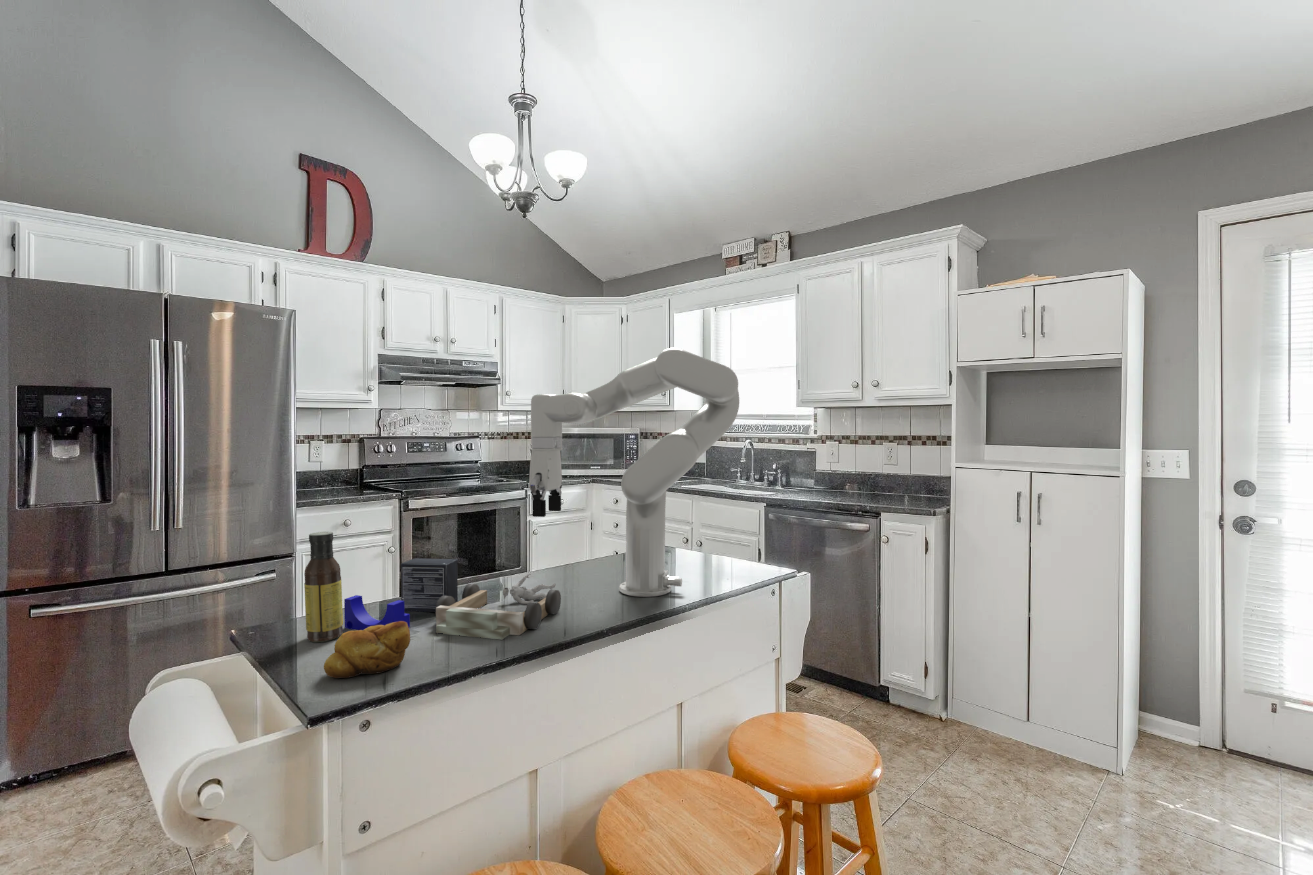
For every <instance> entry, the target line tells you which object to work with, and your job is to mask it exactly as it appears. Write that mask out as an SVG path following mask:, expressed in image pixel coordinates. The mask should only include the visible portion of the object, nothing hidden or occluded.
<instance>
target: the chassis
mask: <svg viewBox="0 0 1313 875" xmlns="http://www.w3.org/2000/svg"><path fill="white" fill-rule="evenodd" d="M462 590H463V591H462V594H461V599H460V600H459V601H458V602H456V603H455V600H454V598H453V597H452V596H441V597H440V598H439V600H438V602H437V604H436V608H435V612H434V613H435V628H436V631H435V633H436V634H438V633H443V634H442V635H450V636H459V635H460V636H461V637H470V638H472V637H473V638H480V637H481V638H482V639H483V638H484V639H493V640H504V639H505V638H507V637H508V636H510V635H512V636H521V635H522V634H524V632H526V631H527V630H536V629H538V628H539V626H540V624H541V621H542V620H543V619H544V618H545V617H547V616H548V615H557V614H558V612H559V611H560V609H561V604H562V595H561V592H560V590H558V589H548V590H549V591H548V592H547V593H546V594H547V596H546V598H544V599H543V598H541V599H540V600H539V601H538V602H535V603H533V602H532V603H529V604H526V605H527V606H526V607H525V610H524V611H523V612H521V611H511V610H510V611H509V610H499V609H487V608H482V607H484V606H486V605H488V590H486V589H485V590H484V589H480V587H479V585H478V584H476V583H467V584H466V585H465V586H464V588H463V589H462ZM485 604H486V605H485ZM481 606H482V607H481ZM477 608H479V609H477ZM481 638H480V639H481Z"/></svg>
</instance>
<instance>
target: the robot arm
mask: <svg viewBox="0 0 1313 875" xmlns="http://www.w3.org/2000/svg"><path fill="white" fill-rule="evenodd" d="M675 388H679V389H681V390H683V391H685V392H689V393H691V394H694V395H696V396H699V397H702V398H704V399H705V400H704V402H703V404H702V406H701V407H700V408H699V409H698V410H697V411H696V412H695V413H694V414H692V415H691V416H690V417H689V418H688V419H687V420H686V421H684V423H683V424H681V425H680V426H679V427H678V428H677V429H675V430H674V431H672V432H670V433H667V434H666V435H664V436H663V437H662V438H661V439H659V440H658V441H657V442H656V443H655V444H654V445H653V446H652V447H650V449H648V450H647V451H646V452H645V453H644V454H643V455H642V456H640V457H639V458H638V459H637V460H636V461H635V462H633V463H632V464H631V465H630V466H629V467H628V468H626V470H625V472H624V473H623V475H622V478H621V481H620V482H621V484H620V485H621V486H620V488H621V491H622V493H623V494H622V495H624V497H625V498H626V508H625V510H626V514H625V516H626V517H625V581H624V582H622V583H620V584H619V587H618V590H619V592H620V593H621V594H624V595H627V596H629V597H630V596H631V597H638V598H639V597H641V598H649V597H651V598H652V597H658V596H664V595H667V594H669V593H670V592H671V591H672V586H673V587H682V586H683V579H682V578H680V576H670V574H669V570H666V567H665V566H666V503H667V500H666V498H667V497H666V496H667V490H668V489H670V488H671V486H673V485H674V484H676V482H677V481H679V480H680V479H681V478H682V477H683V476H685V474H686V473H688V471H690V470H691V469H692V467H694V466H695V465H696V462H697V461H698V460H699V458H700V457H701V456H702V455H703V454H704V453H706V451H708V450H709V449H710V448H711V447H712V446H714V444H715V443H716V442H718V441H719V439H721V438H722V437H723V435H725V434H726V433H727V432H728V431H729V430H730V428H731V427H732V426H733V424H734V422H735V420H736V418H737V416H738V414H739V410H740V394H739V379H738V376H737V375H736V372H734V370H733V369H731V368H730V367H729V366H726V365H725V364H722V363H718V362H717V361H714V360H711V359H708V358H705V357H703V356H700V355H697V354H694V353H692V352H690V351H686V350H684V349H682V348H678V347H670V348H666V349H663V350H662V351H661V352H660V353H659V354H658V355H657V356H656V357H654V358H651V359H648V360H647V361H645V362H642V363H640V364H637V365H634V366H631V367H629V368H627V369H624V370H622V371H621V372H620V373H618V374H617V375H616V376H615V377H614V378H613V379H612V380H610V381H609V382H607V383H605V384H604V385H601V386H598V387H596V388H594V389H591V390H589V391H586V392H584V393H579V392H569V393H562V394H555V393H539V394H538V393H537V394H533V396H532V397H531V399H530V427H531V428H530V433H531V434H530V435H531V436H530V439H531V440H530V442H531V444H530V447H531V448H530V449H531V454H530V464H529V477H528V478H529V482H528V483H529V484H528V486H529V487H528V488H529V490H530V494H531V500H532V517H535V518H539V517H540V518H545V517H546V514H547V509H546V508H547V505H546V504H547V503H546V502H547V501H546V499H545V496H546V494H547V492H548V493H549V494H548V495H547V496H548V498H547V499H548V511H549V512H560V511H562V488H563V485H562V483H563V475H562V473H563V472H562V456H561V451H563V424H564V423H565V424H573V425H578V424H579V425H580V424H582V425H583V424H588V423H591V422H593V421H596V420H599V419H601V418H603V417H606V416H608V415H611V414H613V413H616V412H618V411H620V410H622V409H624V408H629V407H632V406H634V405H636V404H638V403H641V402H643V401H645V400H648V399H650V398H653V397H656V396H658V395H660V394H662V393H666V392H668V391H670V390H673V389H675Z"/></svg>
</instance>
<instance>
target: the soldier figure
mask: <svg viewBox="0 0 1313 875" xmlns="http://www.w3.org/2000/svg"><path fill="white" fill-rule="evenodd" d="M530 576H532V573H528V574H526V575H525V576H523V577H522V578H521V579H520V580H519V581H518V582H517V583H516V584H514V585H512V586H511V587H504V588H502V589H503V590H502V595H503V597H504V599H506V597H507V596H509V594H510V595H511V597H512V599H513V600H514V601H515V602H517V603H519V604H520V605H528V604H529V603H536V602H535V601H536V600H539V599H540V600H542V599H544V598H546V596H547V593H544V592H540V591H541V590H554V589H555V588H556V583H553V584H550V585H548V584H547V585H546V584H542V583H540V584H538V585H536V586H533V588H527V587H526V586H522V585H523V584H524V583H525V581H526V579H530ZM538 592H540V593H538ZM522 599H523V600H522Z"/></svg>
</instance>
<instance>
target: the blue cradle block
mask: <svg viewBox="0 0 1313 875" xmlns="http://www.w3.org/2000/svg"><path fill="white" fill-rule="evenodd" d="M363 601H364V600H363V595H358V594H355V595H353V596H349V597H346V598H344V601H343V603H344V606H343V607H344V608H343V609H344V613H343V614H344V616H343V623H344V629H347V630H352V631H355V630H364V629H366V628H368V627H370V626H376V625H384V626H385V625H386V624H389V623H393V622H398V621H404V622H407V625H408V627H410V628H411V614H410V613H406V612H405V611H404V601H401V599H398V600H395V601H391V602H389V603H387V604H386V611H385V614H384V615H383V617H382V619H381V620H380V619H377V618H374V617H372V615H370V614H369V612H368V610H366V607H365V605H364V602H363Z"/></svg>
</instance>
